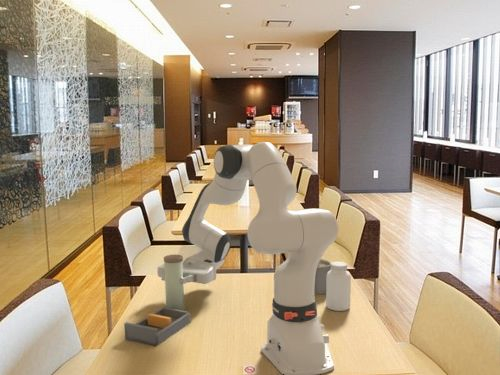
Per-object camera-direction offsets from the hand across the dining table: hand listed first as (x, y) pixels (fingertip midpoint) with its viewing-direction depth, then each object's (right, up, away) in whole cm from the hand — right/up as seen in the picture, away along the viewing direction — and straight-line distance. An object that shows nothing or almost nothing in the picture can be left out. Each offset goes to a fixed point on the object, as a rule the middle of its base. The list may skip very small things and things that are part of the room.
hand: (172, 279), depth 171 cm
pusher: (-2, -12, -14) cm, 18 cm away
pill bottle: (+55, -10, +2) cm, 56 cm away
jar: (+1, -10, +2) cm, 11 cm away
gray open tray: (-2, -13, -14) cm, 19 cm away
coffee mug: (+52, -7, +18) cm, 55 cm away
